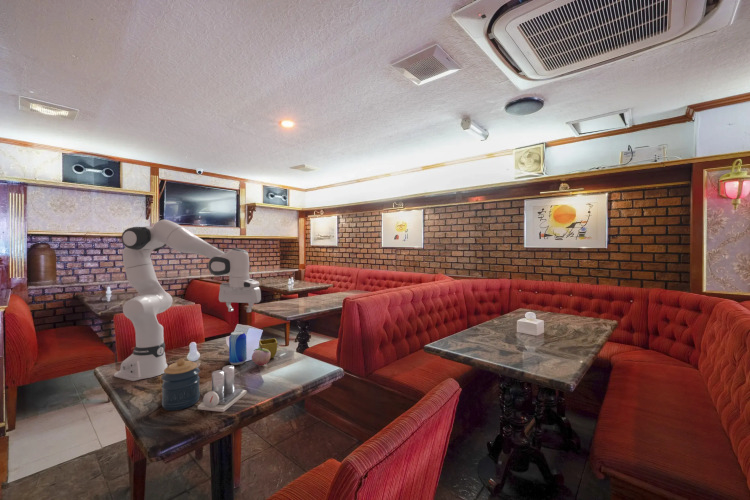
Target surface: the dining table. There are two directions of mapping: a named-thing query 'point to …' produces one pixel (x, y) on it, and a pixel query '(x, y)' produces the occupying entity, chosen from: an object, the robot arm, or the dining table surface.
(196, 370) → the canister
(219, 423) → the dining table surface
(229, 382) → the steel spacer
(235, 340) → the beer can
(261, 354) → the decorative fruit
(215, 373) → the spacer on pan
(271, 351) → the flower pot
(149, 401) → the dining table surface
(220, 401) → the grey square plate
